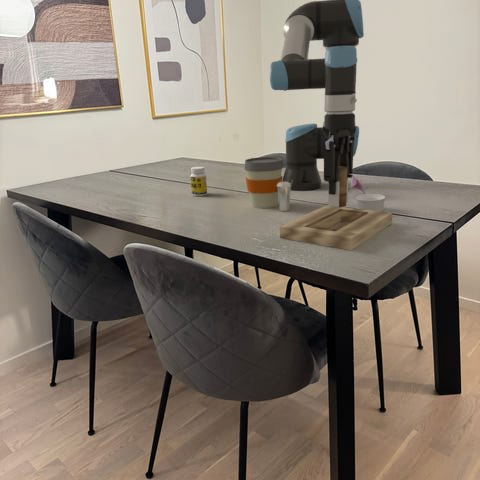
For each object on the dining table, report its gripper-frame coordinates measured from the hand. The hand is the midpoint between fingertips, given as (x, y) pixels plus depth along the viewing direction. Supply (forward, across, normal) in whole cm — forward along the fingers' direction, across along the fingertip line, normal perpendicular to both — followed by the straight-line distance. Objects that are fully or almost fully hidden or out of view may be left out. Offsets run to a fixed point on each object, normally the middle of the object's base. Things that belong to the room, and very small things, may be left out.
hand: (338, 204), depth 126 cm
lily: (+7, +40, +13) cm, 43 cm away
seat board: (+7, 0, 0) cm, 7 cm away
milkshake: (+7, +12, +24) cm, 28 cm away
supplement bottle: (+7, +17, +65) cm, 68 cm away
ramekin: (+7, +24, +1) cm, 25 cm away
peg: (0, 0, 0) cm, 0 cm away
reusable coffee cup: (+7, +15, +34) cm, 38 cm away
